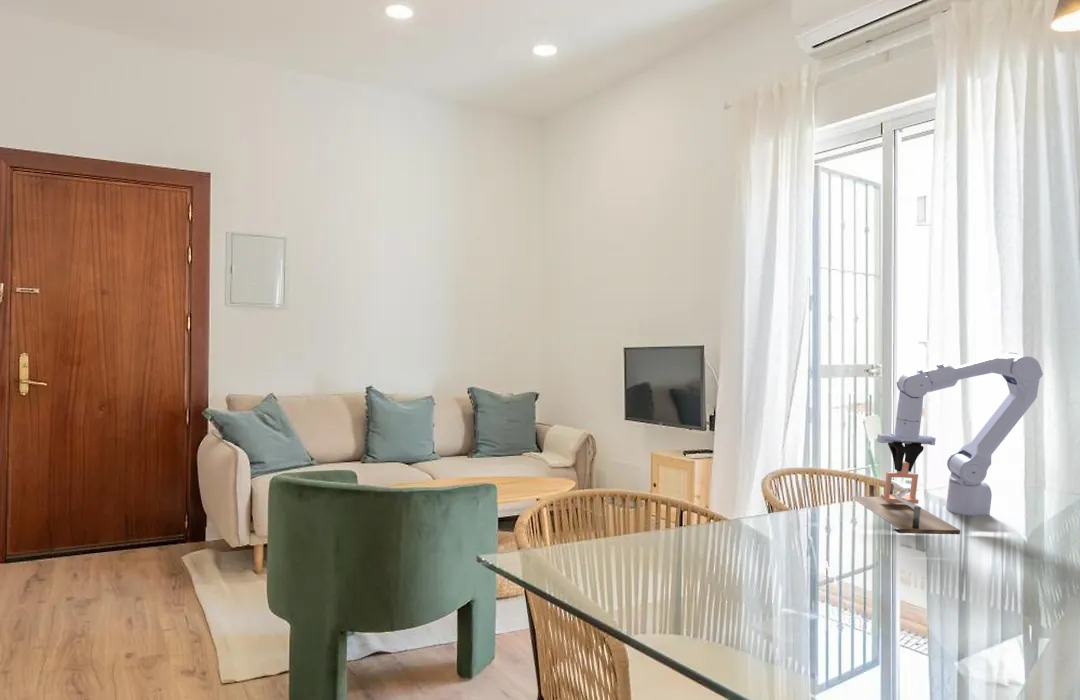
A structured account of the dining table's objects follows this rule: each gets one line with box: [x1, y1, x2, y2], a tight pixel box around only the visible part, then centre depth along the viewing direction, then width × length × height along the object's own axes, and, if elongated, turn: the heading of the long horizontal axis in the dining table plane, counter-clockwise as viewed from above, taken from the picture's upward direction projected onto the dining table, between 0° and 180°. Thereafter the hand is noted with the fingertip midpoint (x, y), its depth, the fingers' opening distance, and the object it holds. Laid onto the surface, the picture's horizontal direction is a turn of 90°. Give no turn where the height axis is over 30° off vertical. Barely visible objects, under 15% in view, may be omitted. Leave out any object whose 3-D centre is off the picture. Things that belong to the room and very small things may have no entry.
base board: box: [850, 496, 961, 535], centre depth 190 cm, size 15×25×1 cm, turn 4°
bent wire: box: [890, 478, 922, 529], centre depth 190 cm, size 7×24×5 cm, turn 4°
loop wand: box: [880, 460, 919, 505], centre depth 195 cm, size 8×4×10 cm, turn 93°
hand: (902, 470), depth 195 cm, fingers closed on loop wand, 2 cm apart
